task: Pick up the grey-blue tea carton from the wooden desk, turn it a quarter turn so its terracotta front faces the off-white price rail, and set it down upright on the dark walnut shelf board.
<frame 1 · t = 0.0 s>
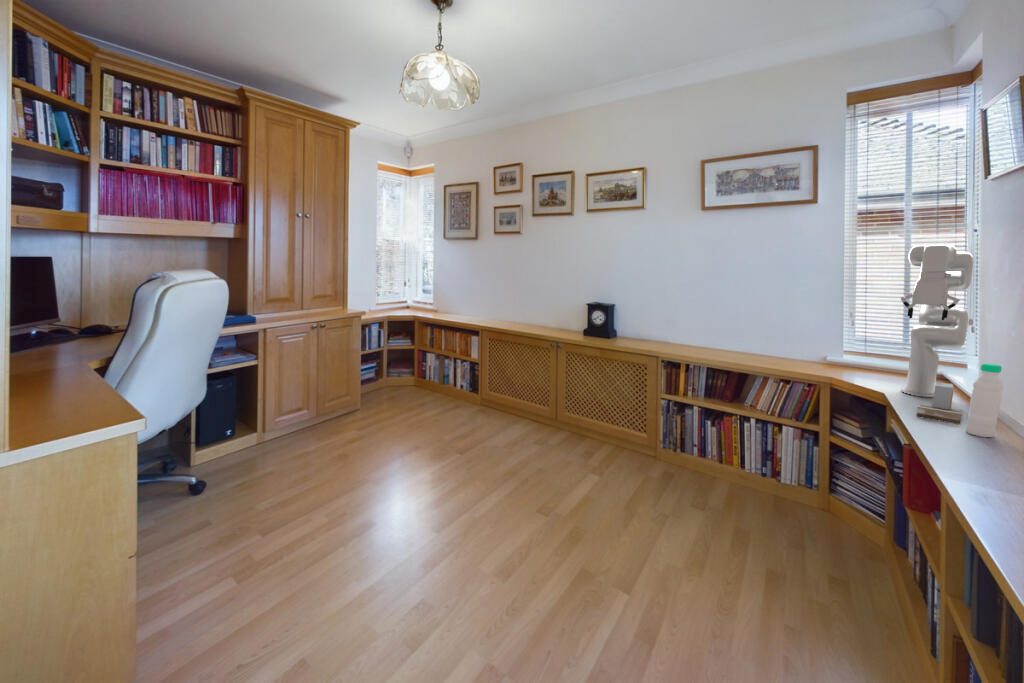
hand: (926, 318, 178), 37 cm above the worktop, tool pointing down, fingers open, 9 cm apart
milk bottle: (979, 434, 153), on the worktop
tea carton: (940, 408, 181), on the worktop
shelf board: (938, 415, 172), on the worktop
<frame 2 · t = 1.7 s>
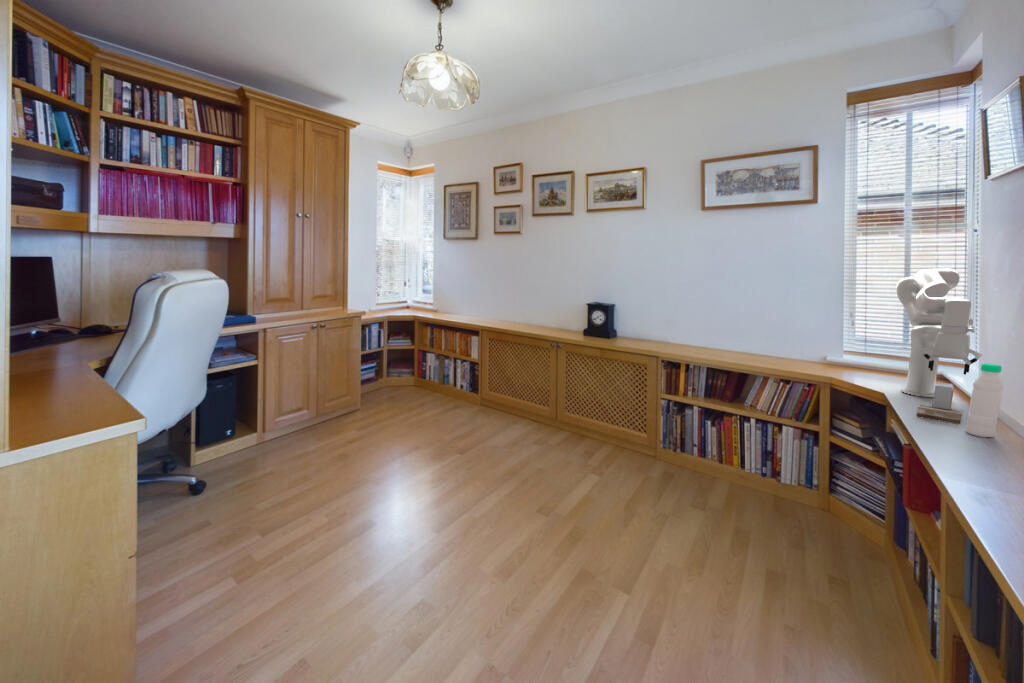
hand: (947, 372, 177), 15 cm above the worktop, tool pointing down, fingers open, 9 cm apart
nothing on the worktop moved.
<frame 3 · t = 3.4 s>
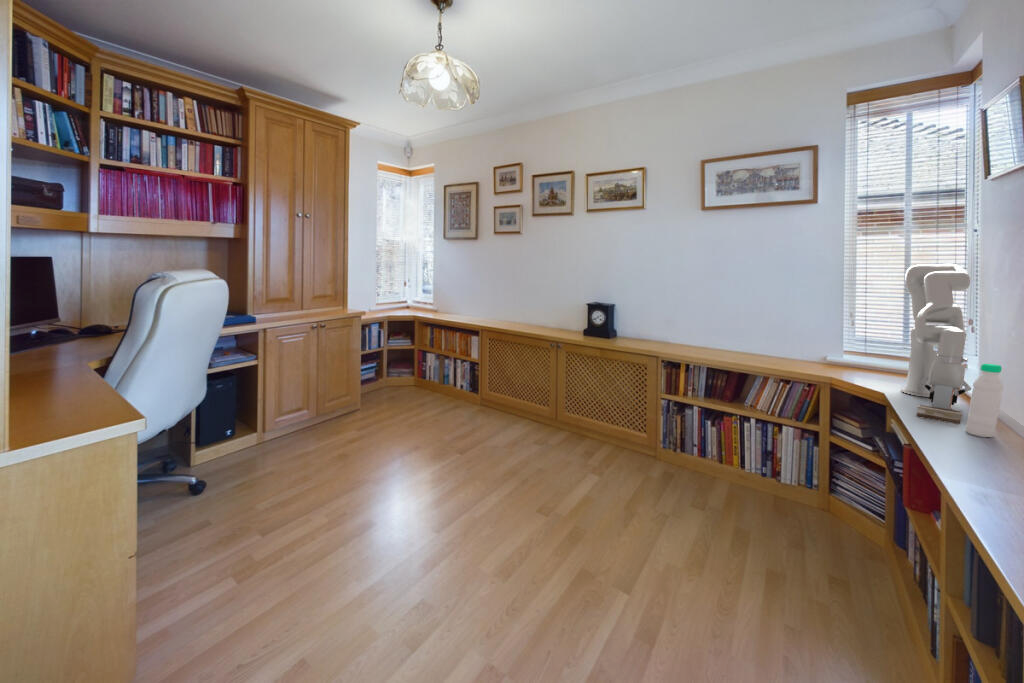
hand: (942, 402, 180), 3 cm above the worktop, tool pointing down, fingers closed on tea carton, 5 cm apart
tea carton: (940, 408, 181), on the worktop, touching gripper
everything else where it was.
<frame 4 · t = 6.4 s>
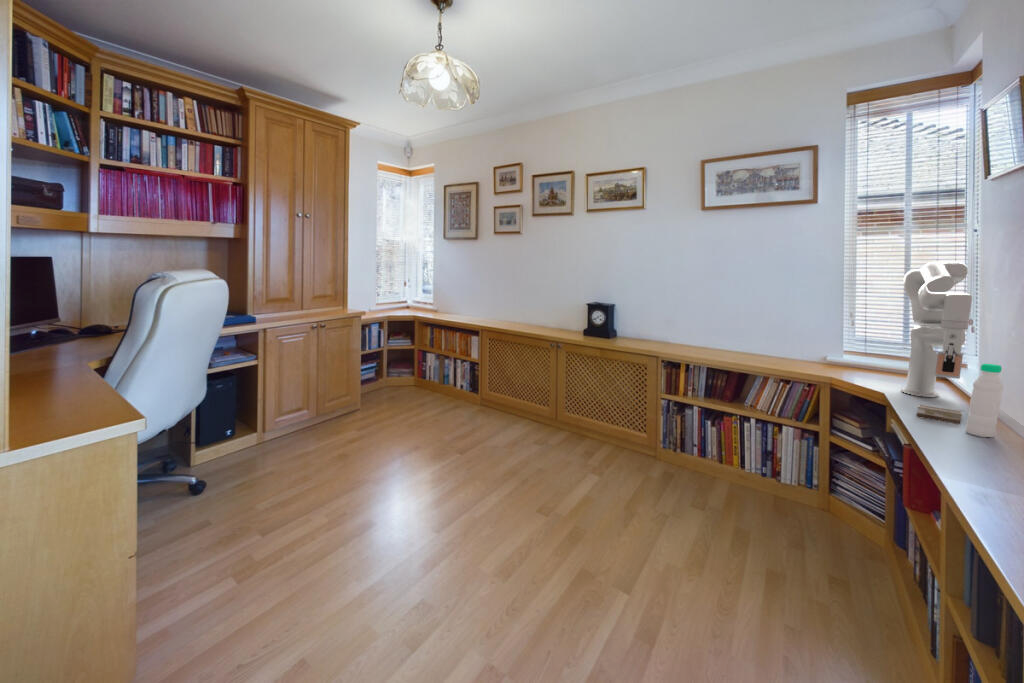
hand: (947, 370, 173), 17 cm above the worktop, tool pointing down, fingers closed on tea carton, 5 cm apart
tea carton: (946, 376, 174), point 15 cm above the worktop, touching gripper
everything else where it was.
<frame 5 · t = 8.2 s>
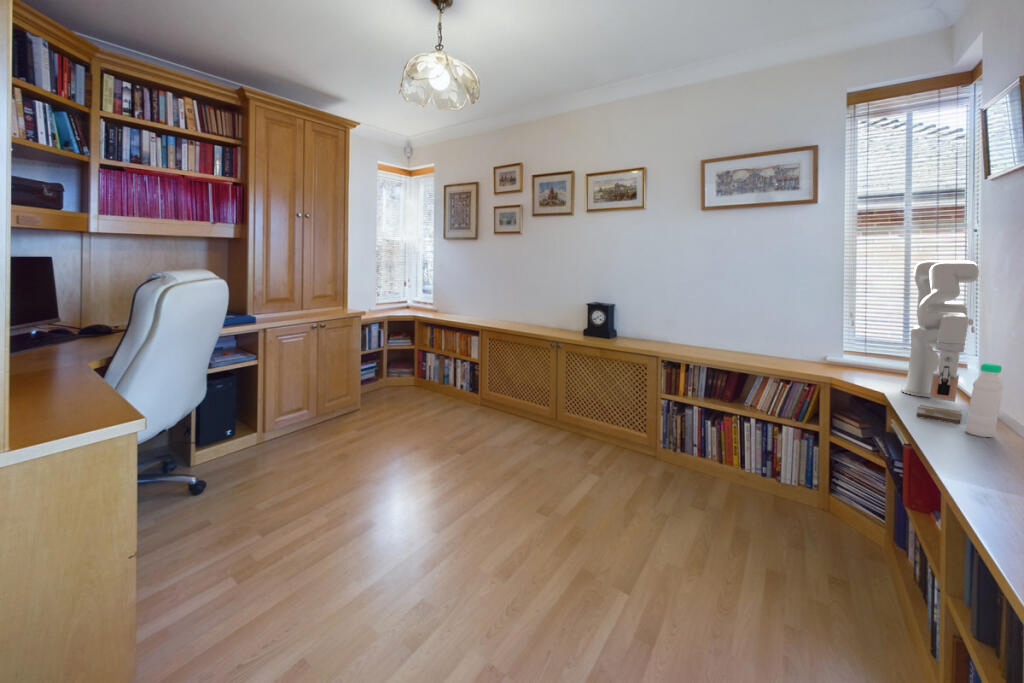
hand: (943, 392, 169), 10 cm above the worktop, tool pointing down, fingers closed on tea carton, 5 cm apart
tea carton: (942, 398, 170), point 7 cm above the worktop, touching gripper
everything else where it was.
when the fingers open (6 cm above the worktop, at t = 9.7 s): tea carton drops 2 cm, resting on shelf board.
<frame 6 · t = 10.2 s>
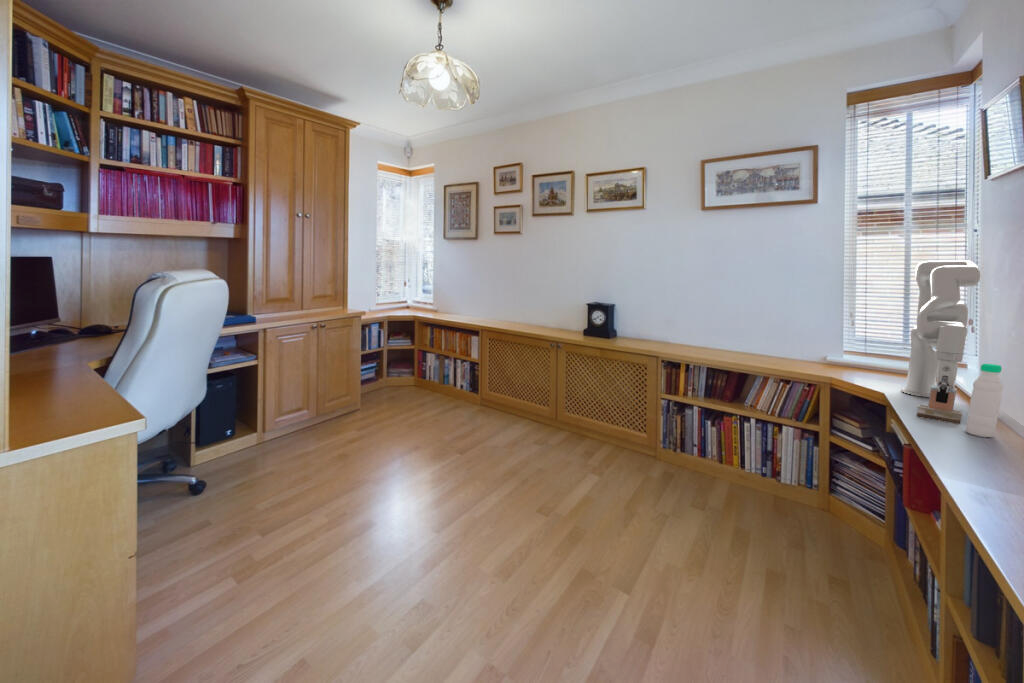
hand: (942, 399, 170), 7 cm above the worktop, tool pointing down, fingers open, 9 cm apart
tea carton: (939, 412, 171), point 1 cm above the worktop, touching shelf board
everything else where it was.
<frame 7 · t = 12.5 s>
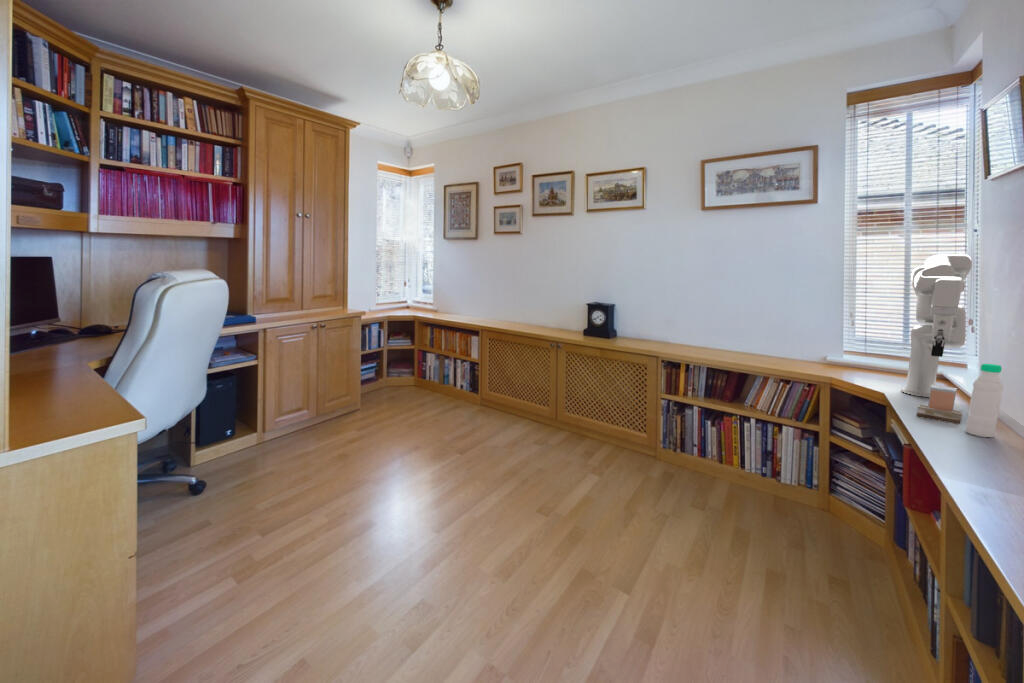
hand: (937, 353, 173), 24 cm above the worktop, tool pointing down, fingers open, 9 cm apart
nothing on the worktop moved.
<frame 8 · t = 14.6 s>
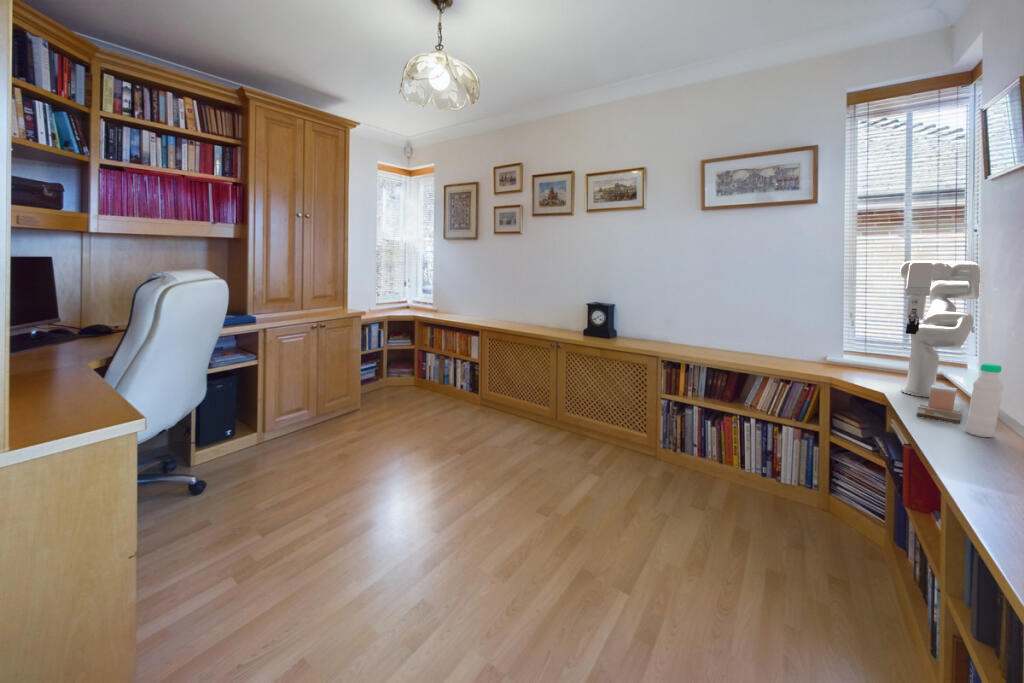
hand: (912, 332, 185), 30 cm above the worktop, tool pointing down, fingers open, 9 cm apart
nothing on the worktop moved.
at the end: tea carton inside the target area on the shelf board (0.4 cm from its centre), point 1.5 cm above the shelf board's base; tea carton tilted 0°; the gripper is holding nothing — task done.
